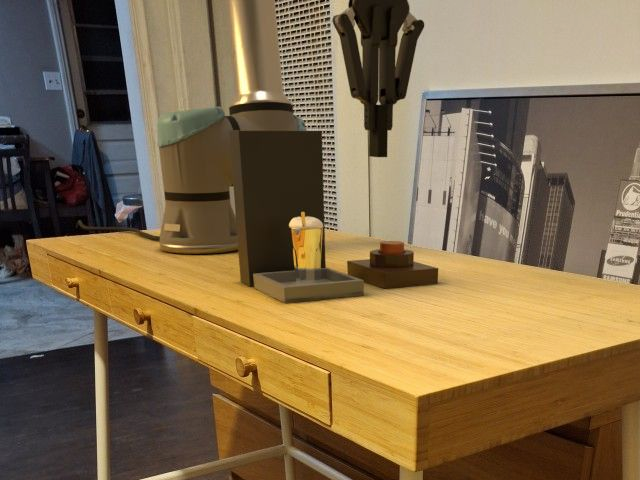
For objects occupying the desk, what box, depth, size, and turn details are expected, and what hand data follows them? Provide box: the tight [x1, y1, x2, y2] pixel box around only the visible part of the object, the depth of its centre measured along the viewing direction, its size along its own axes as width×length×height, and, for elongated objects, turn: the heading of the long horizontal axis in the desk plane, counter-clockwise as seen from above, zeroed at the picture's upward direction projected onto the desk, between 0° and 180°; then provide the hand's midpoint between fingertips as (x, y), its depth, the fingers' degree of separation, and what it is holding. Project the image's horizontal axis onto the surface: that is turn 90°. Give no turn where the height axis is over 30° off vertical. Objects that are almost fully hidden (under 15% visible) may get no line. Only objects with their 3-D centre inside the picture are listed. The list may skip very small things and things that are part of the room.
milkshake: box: [289, 212, 323, 285], centre depth 102 cm, size 5×5×10 cm
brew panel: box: [346, 248, 439, 290], centre depth 113 cm, size 12×9×4 cm
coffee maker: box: [229, 130, 365, 304], centre depth 103 cm, size 17×12×20 cm
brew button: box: [379, 240, 405, 254], centre depth 112 cm, size 4×4×2 cm
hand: (378, 156), depth 107 cm, fingers closed
